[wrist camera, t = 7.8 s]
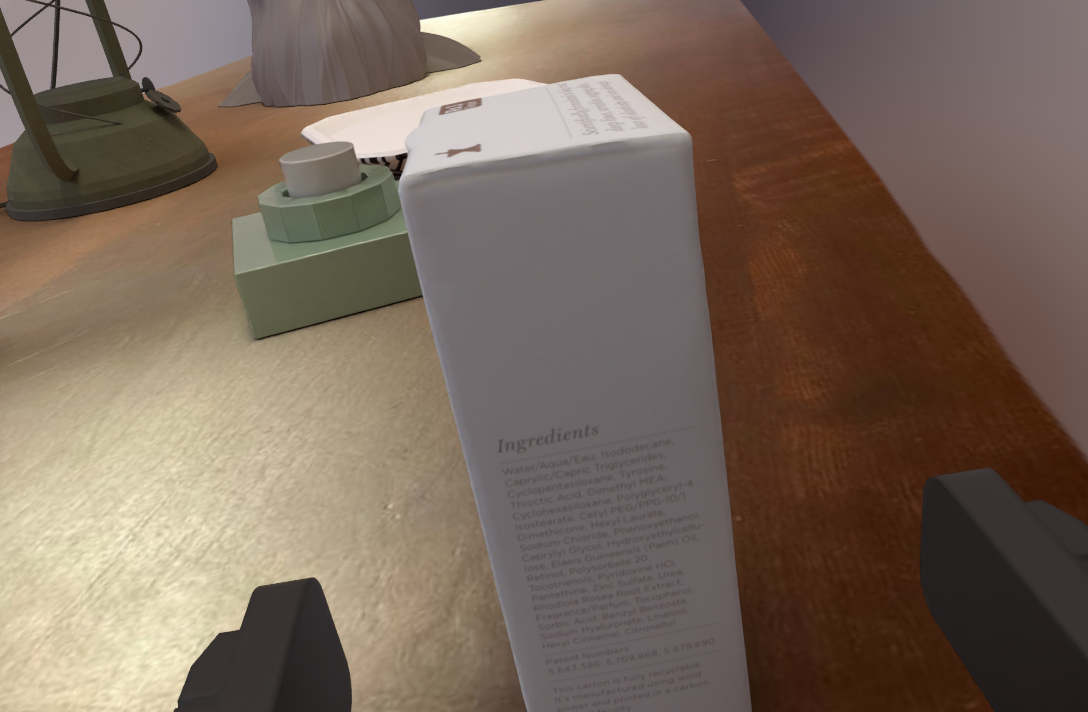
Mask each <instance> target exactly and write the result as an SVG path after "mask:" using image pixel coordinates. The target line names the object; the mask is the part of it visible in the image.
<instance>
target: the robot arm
mask: <svg viewBox="0 0 1088 712" xmlns="http://www.w3.org/2000/svg"><path fill="white" fill-rule="evenodd" d="M920 578H921V585H922V589H923V593H924V596H925V600H926V602H927V605H928V607H929V610H930V612H931V614H932V616H933V618H934V619H935V621H936V623H937V624H938V626H939V627H940V629H941V630H942V632H943V633H944V635H945V636H946V638H947V639H948V641H949V642H950V644H951V645H952V647H953V648H954V650H955V652H956V653H957V655H958V656H959V658H960V659H961V661H962V662H963V664H964V665H965V667H966V668H967V670H968V671H969V673H970V674H971V676H972V678H973V679H974V681H975V682H976V684H977V685H978V687H979V688H980V690H981V691H982V693H983V694H984V696H985V697H986V699H987V700H988V702H989V704H990V705H991V707H992V708H993V710H994V711H995V712H1088V527H1087V526H1086V525H1085V524H1084V523H1083V522H1082V521H1080V520H1078V519H1076V518H1074V517H1073V516H1071V515H1069V514H1067V513H1065V512H1063V511H1061V510H1060V509H1058V508H1056V507H1054V506H1052V505H1050V504H1048V503H1046V502H1045V501H1043V500H1037V501H1030V502H1024V501H1023V500H1022V499H1021V498H1020V497H1019V496H1018V495H1017V494H1016V493H1015V492H1014V490H1013V489H1012V488H1011V487H1010V486H1009V485H1008V484H1007V483H1006V482H1005V481H1004V480H1003V479H1002V478H1001V477H1000V476H999V475H998V474H997V473H996V472H995V471H994V470H992V469H989V468H983V469H977V470H971V471H965V472H959V473H952V474H946V475H940V476H934V477H930V478H928V479H927V480H926V482H925V485H924V490H923V507H922V530H921V553H920ZM351 705H352V689H351V679H350V672H349V667H348V663H347V660H346V657H345V654H344V651H343V648H342V645H341V642H340V639H339V636H338V633H337V630H336V628H335V625H334V622H333V619H332V616H331V613H330V610H329V607H328V604H327V601H326V598H325V595H324V592H323V590H322V587H321V585H320V583H319V582H318V580H317V579H316V578H313V577H312V578H306V579H300V580H294V581H288V582H282V583H276V584H270V585H264V586H259V587H257V588H256V589H255V590H254V591H253V593H252V596H251V598H250V601H249V604H248V607H247V610H246V613H245V616H244V619H243V622H242V625H241V628H240V630H236V631H230V632H224V633H219V634H218V635H217V636H216V638H215V639H214V640H213V641H212V642H211V643H210V645H209V646H208V647H207V648H206V649H205V651H204V652H203V653H202V654H201V655H200V657H199V658H198V659H197V660H196V661H195V663H194V664H193V665H192V666H191V668H190V671H189V674H188V676H187V679H186V681H185V684H184V686H183V689H182V692H181V694H180V697H179V699H178V708H175V709H174V712H351Z"/></svg>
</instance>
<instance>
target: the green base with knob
mask: <svg viewBox="0 0 1088 712" xmlns="http://www.w3.org/2000/svg"><path fill="white" fill-rule="evenodd" d="M359 168H360V172H361V176H362V180H363V182H361V183H360V184H358V185H355V186H352V187H350V188H347V189H345V190H342V191H338V192H334V193H330V194H325V195H321V196H316V197H306V198H289V194H288V191H287V187H286V184H285V181H284V182H281V183H278V184H276V185H274V186H272V187H271V188H269V189H268V190H266V191H265V192H263V193H262V194H260V195H259V196H258V203H259V207H260V211H261V212H260V213H256V214H251V215H247V216H243V217H238V218H234V219H232V244H233V266H234V277H235V280H236V283H237V287H238V290H239V293H240V296H241V299H242V302H243V305H244V308H245V311H246V314H247V317H248V320H249V323H250V326H251V329H252V332H253V335H254V338H255V339H259V338H263V337H266V336H270V335H274V334H278V333H282V332H285V331H289V330H293V329H297V328H301V327H304V326H308V325H312V324H316V323H319V322H323V321H327V320H331V319H335V318H338V317H342V316H346V315H350V314H354V313H357V312H361V311H365V310H369V309H372V308H376V307H380V306H384V305H388V304H391V303H395V302H399V301H403V300H407V299H410V298H414V297H418V296H422V295H423V294H422V290H421V286H420V282H419V277H418V273H417V269H416V265H415V261H414V257H413V253H412V249H411V245H410V240H409V236H408V232H407V228H406V224H405V220H404V215H403V211H402V206H401V202H400V197H399V193H398V188H399V181H400V180H397V181H395V180H394V175H393V173H392V172H391V171H390V170H389V168H388V167H387V166H379V165H367V164H364V165H359Z"/></svg>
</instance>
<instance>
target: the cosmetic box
mask: <svg viewBox="0 0 1088 712" xmlns="http://www.w3.org/2000/svg"><path fill="white" fill-rule="evenodd" d="M405 146H406V148H407V150H408V153H409V154H408V158H407V161H406V164H405V167H404V170H403V172H402V175H401V178H400V181H399V188H398V193H399V197H400V202H401V206H402V211H403V215H404V220H405V224H406V228H407V232H408V236H409V240H410V245H411V249H412V253H413V257H414V261H415V265H416V269H417V273H418V277H419V282H420V286H421V290H422V294H423V298H424V302H425V306H426V310H427V314H428V318H429V322H430V326H431V330H432V334H433V337H434V341H435V345H436V349H437V352H438V356H439V360H440V364H441V367H442V371H443V375H444V379H445V383H446V387H447V391H448V395H449V399H450V403H451V407H452V411H453V414H454V418H455V422H456V426H457V430H458V434H459V438H460V442H461V445H462V449H463V453H464V457H465V461H466V465H467V469H468V473H469V477H470V482H471V486H472V490H473V494H474V498H475V502H476V506H477V510H478V514H479V518H480V522H481V527H482V530H483V534H484V538H485V543H486V547H487V551H488V555H489V559H490V563H491V567H492V571H493V575H494V579H495V583H496V588H497V592H498V596H499V600H500V604H501V608H502V612H503V616H504V620H505V624H506V628H507V632H508V636H509V640H510V644H511V648H512V652H513V656H514V660H515V664H516V669H517V673H518V677H519V681H520V685H521V689H522V694H523V697H524V701H525V705H526V709H527V712H752V709H751V699H750V689H749V680H748V671H747V663H746V654H745V645H744V637H743V628H742V619H741V610H740V601H739V592H738V583H737V574H736V565H735V556H734V545H733V534H732V524H731V513H730V503H729V494H728V484H727V475H726V465H725V458H724V447H723V437H722V428H721V418H720V409H719V400H718V391H717V383H716V372H715V363H714V354H713V345H712V336H711V328H710V320H709V311H708V303H707V296H706V288H705V275H704V267H703V260H702V254H701V248H700V240H699V230H698V220H697V206H696V193H695V182H694V170H693V153H692V137H691V135H690V134H689V133H688V132H687V131H686V130H684V129H683V128H682V127H681V126H679V125H678V124H677V123H676V122H674V121H673V120H672V119H671V118H670V117H669V116H667V115H666V114H665V113H664V112H663V111H661V110H660V109H659V108H658V107H657V106H656V105H654V104H653V103H652V102H651V101H650V100H648V99H647V98H646V97H645V96H644V95H643V94H641V93H640V92H639V91H638V90H637V89H636V88H634V87H633V86H632V85H631V84H630V83H629V82H628V81H627V80H625V79H624V78H623V77H622V75H620V74H610V75H601V76H592V77H586V78H580V79H575V80H569V81H564V82H558V83H554V84H549V85H544V86H539V87H535V88H530V89H525V90H520V91H515V92H510V93H505V94H499V95H494V96H488V97H483V98H478V99H472V100H467V101H462V102H457V103H453V104H448V105H443V106H438V107H433V108H430V109H427V110H426V111H425V112H424V113H423V115H422V117H421V119H420V123H419V126H418V127H417V128H415V129H414V130H413V131H411V132H410V134H409V135H408V136H407V137H406V139H405Z"/></svg>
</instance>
